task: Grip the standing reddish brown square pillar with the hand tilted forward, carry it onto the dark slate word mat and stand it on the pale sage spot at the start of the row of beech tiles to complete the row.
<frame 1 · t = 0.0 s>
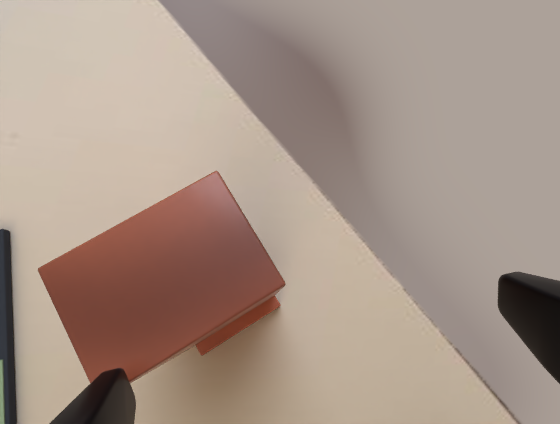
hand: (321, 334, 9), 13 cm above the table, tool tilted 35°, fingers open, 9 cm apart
reddish brown square pillar: (222, 292, 22), on the table
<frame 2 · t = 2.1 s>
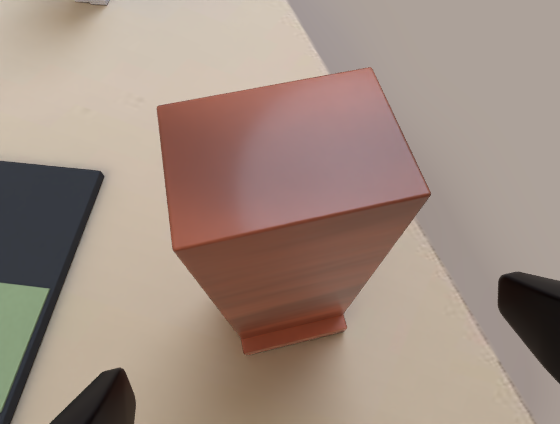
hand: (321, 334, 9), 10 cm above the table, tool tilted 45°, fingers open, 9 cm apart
reddish brown square pillar: (284, 296, 19), on the table
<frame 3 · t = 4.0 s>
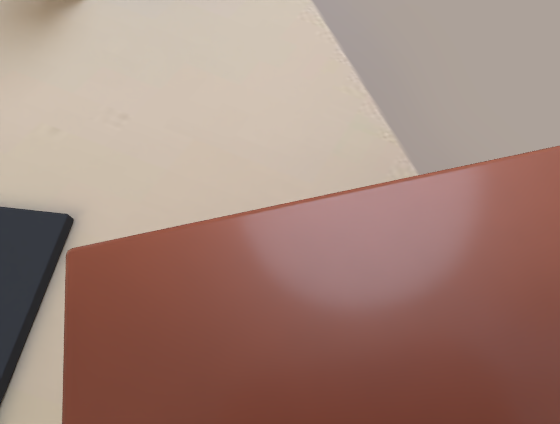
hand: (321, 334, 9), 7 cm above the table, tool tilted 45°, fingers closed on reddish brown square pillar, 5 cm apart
reddish brown square pillar: (315, 396, 14), on the table, touching gripper
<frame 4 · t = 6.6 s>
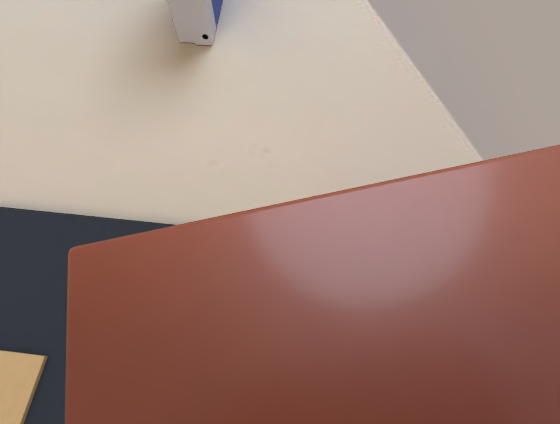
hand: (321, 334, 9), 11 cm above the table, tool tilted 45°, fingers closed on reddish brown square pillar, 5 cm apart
reddish brown square pillar: (315, 396, 14), point 5 cm above the table, touching gripper
word mat: (2, 334, 20), on the table
walkman: (205, 13, 31), on the table
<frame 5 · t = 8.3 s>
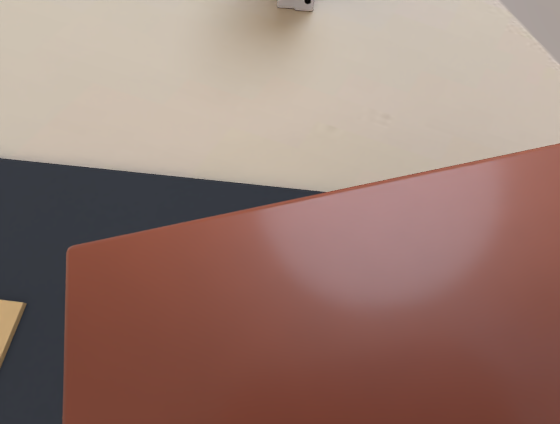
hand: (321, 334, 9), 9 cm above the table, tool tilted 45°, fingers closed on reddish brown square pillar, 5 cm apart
reddish brown square pillar: (315, 396, 14), point 3 cm above the table, touching gripper
word mat: (133, 301, 18), on the table
when the fingers open (7 cm above the table, at t = 9.5 s): reddish brown square pillar stays where it is, resting on word mat.
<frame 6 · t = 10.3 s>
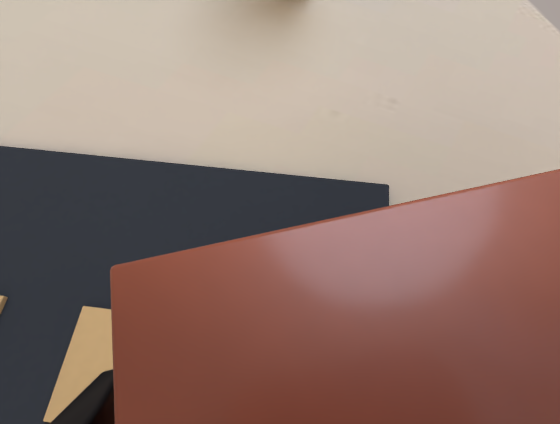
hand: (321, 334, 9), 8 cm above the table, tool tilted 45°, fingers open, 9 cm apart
reddish brown square pillar: (313, 393, 15), point 1 cm above the table, touching word mat
word mat: (123, 295, 17), on the table
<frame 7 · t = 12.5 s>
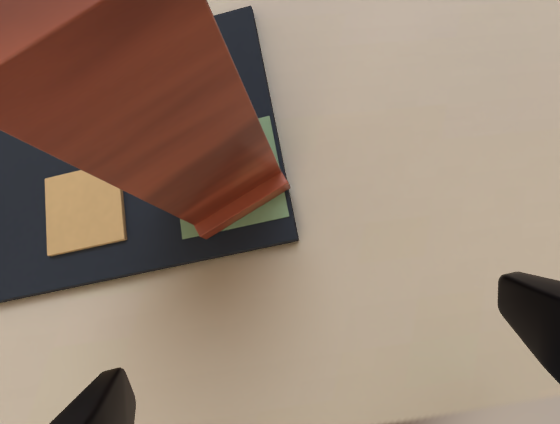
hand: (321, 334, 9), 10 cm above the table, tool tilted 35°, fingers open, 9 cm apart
reddish brown square pillar: (226, 176, 19), point 1 cm above the table, touching word mat
word mat: (74, 165, 22), on the table
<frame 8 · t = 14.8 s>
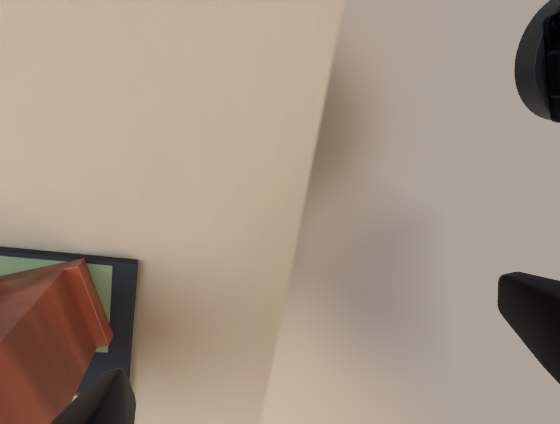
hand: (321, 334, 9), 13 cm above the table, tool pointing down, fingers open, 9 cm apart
reddish brown square pillar: (55, 307, 20), point 1 cm above the table, touching word mat
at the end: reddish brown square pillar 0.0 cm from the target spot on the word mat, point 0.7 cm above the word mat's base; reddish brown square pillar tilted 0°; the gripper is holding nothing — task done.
